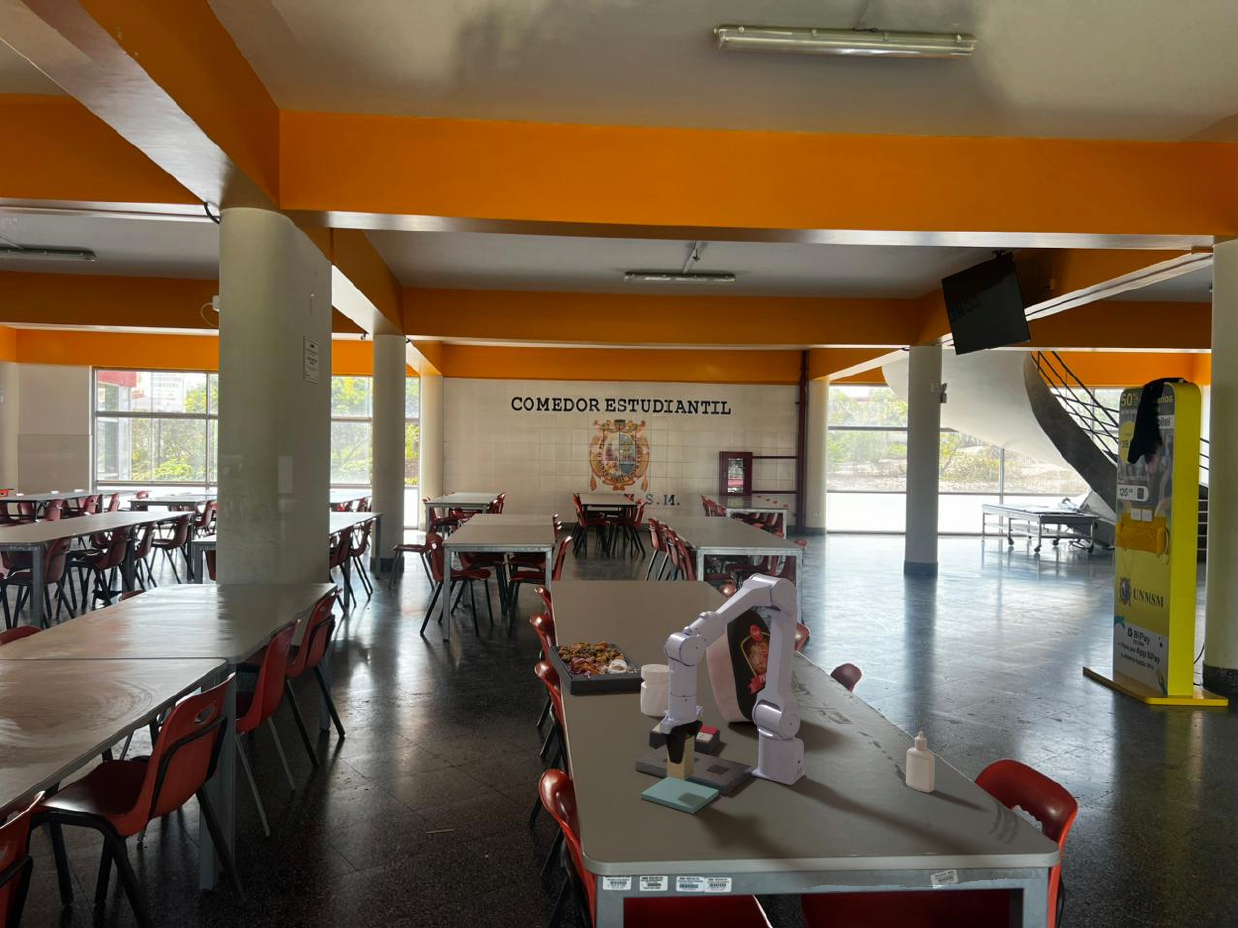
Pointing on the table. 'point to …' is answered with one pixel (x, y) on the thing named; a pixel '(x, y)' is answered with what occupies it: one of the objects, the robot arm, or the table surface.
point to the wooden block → (683, 761)
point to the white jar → (654, 689)
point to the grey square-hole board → (699, 769)
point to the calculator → (703, 743)
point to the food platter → (595, 668)
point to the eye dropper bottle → (920, 766)
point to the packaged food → (739, 665)
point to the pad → (680, 794)
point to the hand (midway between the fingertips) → (680, 759)
